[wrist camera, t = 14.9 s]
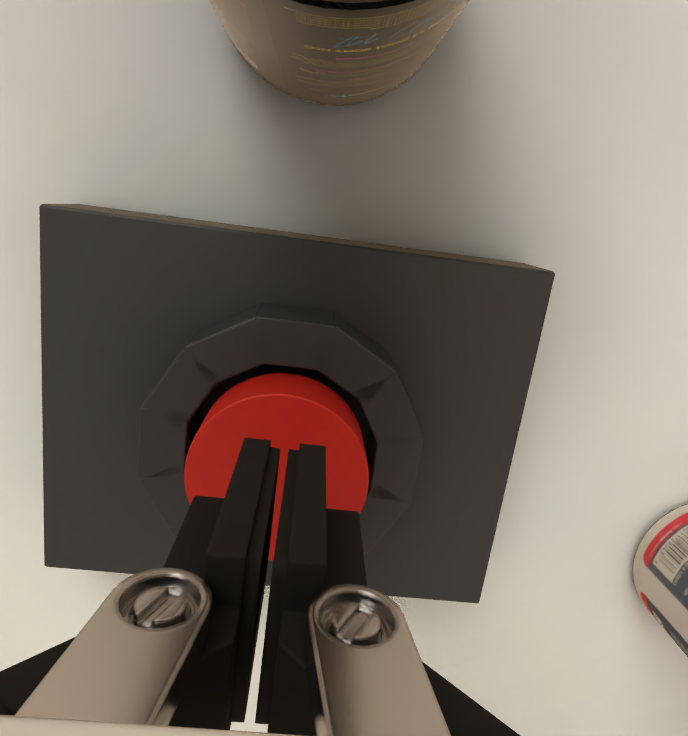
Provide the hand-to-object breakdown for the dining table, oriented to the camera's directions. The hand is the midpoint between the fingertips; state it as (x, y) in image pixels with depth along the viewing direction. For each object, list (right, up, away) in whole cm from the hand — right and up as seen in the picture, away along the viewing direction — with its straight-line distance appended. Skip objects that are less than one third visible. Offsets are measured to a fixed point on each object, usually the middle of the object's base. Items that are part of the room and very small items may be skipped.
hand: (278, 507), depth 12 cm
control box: (-1, +2, +8) cm, 8 cm away
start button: (0, +1, +4) cm, 4 cm away
